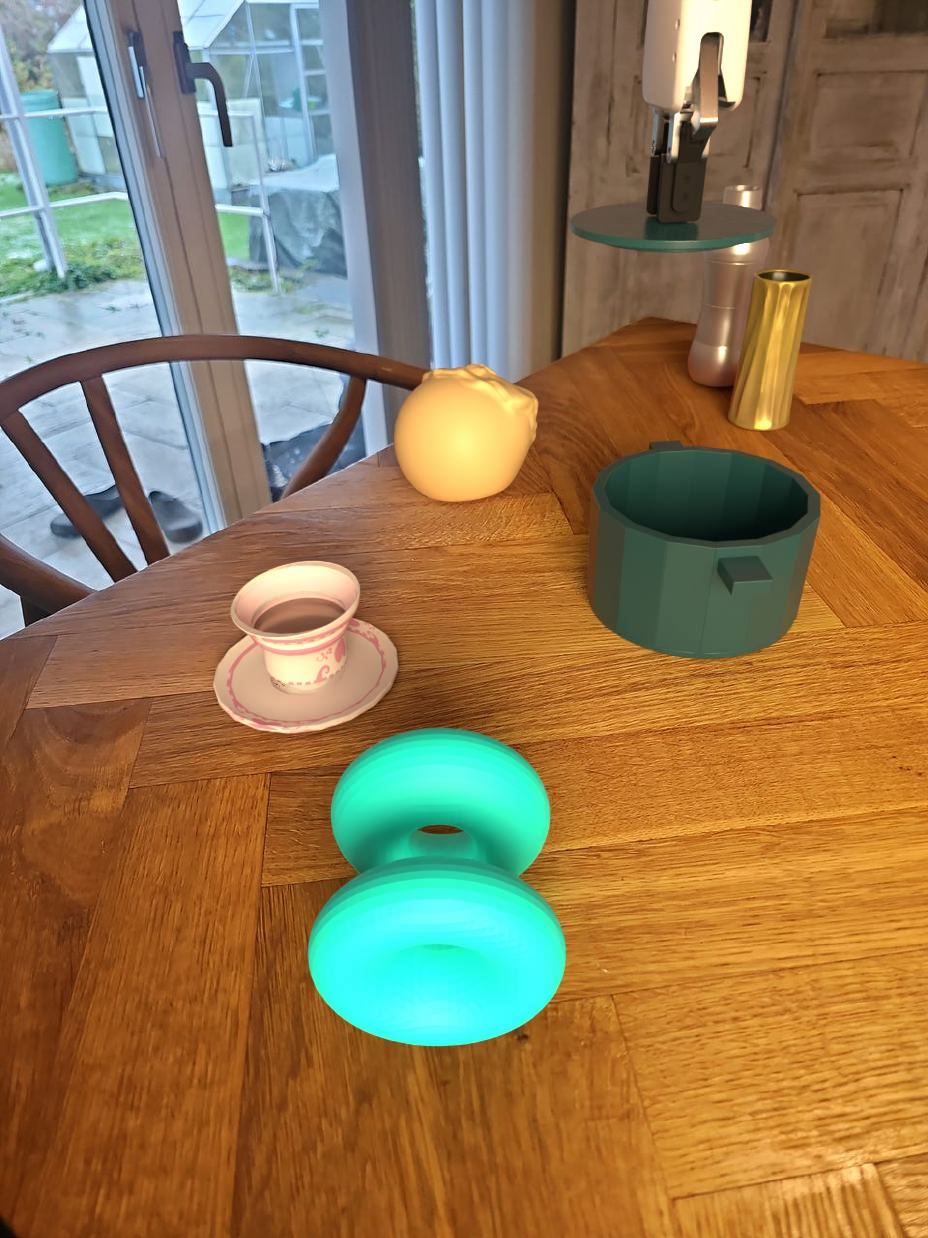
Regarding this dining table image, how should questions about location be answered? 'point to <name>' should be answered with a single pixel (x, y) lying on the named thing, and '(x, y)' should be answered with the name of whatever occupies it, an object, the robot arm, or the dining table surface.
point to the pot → (699, 549)
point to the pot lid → (673, 227)
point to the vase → (770, 350)
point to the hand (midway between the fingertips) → (672, 214)
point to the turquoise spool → (438, 893)
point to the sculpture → (464, 433)
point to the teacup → (303, 652)
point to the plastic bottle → (726, 300)
